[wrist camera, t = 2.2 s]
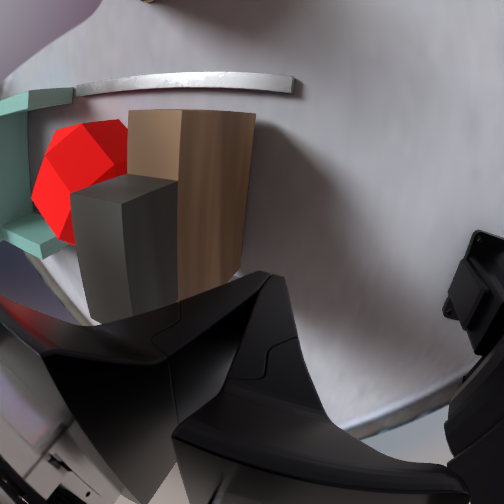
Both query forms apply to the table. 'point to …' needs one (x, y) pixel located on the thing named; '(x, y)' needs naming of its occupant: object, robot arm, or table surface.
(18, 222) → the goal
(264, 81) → the track
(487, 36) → the table surface
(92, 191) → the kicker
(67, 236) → the ball
